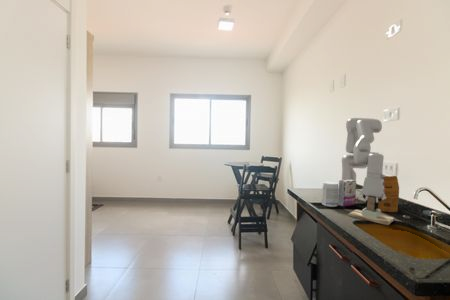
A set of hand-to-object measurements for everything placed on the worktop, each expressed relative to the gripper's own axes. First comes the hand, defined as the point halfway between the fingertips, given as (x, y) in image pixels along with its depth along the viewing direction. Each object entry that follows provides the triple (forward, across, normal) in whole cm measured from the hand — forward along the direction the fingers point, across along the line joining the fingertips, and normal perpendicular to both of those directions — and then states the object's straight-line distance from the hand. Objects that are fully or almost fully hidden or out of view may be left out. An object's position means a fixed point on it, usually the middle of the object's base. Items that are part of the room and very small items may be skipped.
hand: (371, 208), depth 155 cm
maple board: (+6, 0, 0) cm, 6 cm away
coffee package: (+6, -1, -25) cm, 26 cm away
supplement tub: (+6, +27, -8) cm, 29 cm away
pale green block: (+4, 0, 0) cm, 4 cm away
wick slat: (+1, 0, 0) cm, 1 cm away
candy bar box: (+6, +20, -18) cm, 27 cm away
